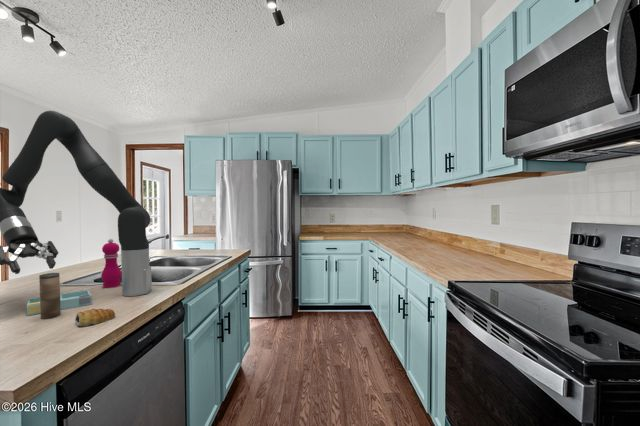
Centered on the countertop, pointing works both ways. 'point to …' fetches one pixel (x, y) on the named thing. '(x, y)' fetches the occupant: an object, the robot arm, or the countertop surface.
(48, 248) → the robot arm
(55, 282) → the walnut peg
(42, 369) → the countertop surface
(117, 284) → the pepper mill
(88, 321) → the pastry
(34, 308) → the socket block
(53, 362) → the countertop surface
